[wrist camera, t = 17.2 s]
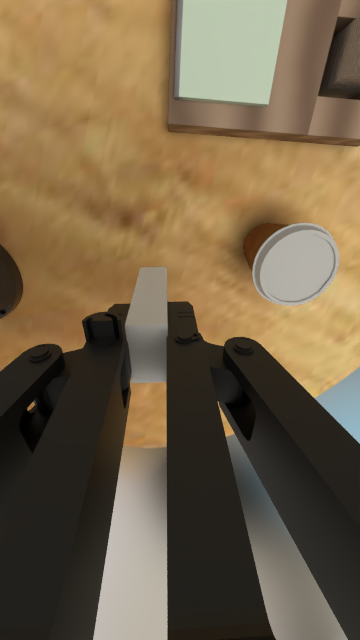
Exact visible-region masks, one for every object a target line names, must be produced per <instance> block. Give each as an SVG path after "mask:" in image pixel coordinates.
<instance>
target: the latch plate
mask: <svg viewBox="0 0 360 640" xmlns="http://www.w3.org/2000/svg"><path fill="white" fill-rule="evenodd" d="M286 5H287V0H177V25H176V51H175V78H174V98H175V99H179V100H191V101H202V102H213V103H224V104H236V105H247V106H258V107H266V106H267V105H269V99H270V93H271V88H272V82H273V77H274V71H275V66H276V60H277V55H278V49H279V44H280V38H281V33H282V27H283V22H284V16H285V11H286Z"/></svg>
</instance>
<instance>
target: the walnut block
mask: <svg viewBox="0 0 360 640" xmlns="http://www.w3.org/2000/svg"><path fill="white" fill-rule="evenodd" d="M359 15H360V0H287V5H286V11H285V16H284V22H283V27H282V33H281V38H280V44H279V49H278V55H277V60H276V66H275V71H274V77H273V82H272V88H271V93H270V99H269V105H267V106H266V107H258V106H247V105H236V104H224V103H213V102H202V101H191V100H179V99H175V98H174V78H175V51H176V25H177V0H172V9H171V43H170V76H169V109H168V128H169V132H180V133H193V134H206V135H218V136H231V137H243V138H256V139H268V140H281V141H294V142H306V143H319V144H331V145H344V146H360V93H359V94H357V95H355V96H353V97H351V98H349V99H341V98H330V97H319V96H318V93H319V89H320V85H321V81H322V77H323V73H324V69H325V65H326V61H327V57H328V53H329V49H330V45H331V41H332V39H333V38H334V37H335V36H337V35H338V34H339V33H340V32H341V31H342V30H343V29H344V28H346V27H347V26H348V25H349V24H350V23H351V22H352V21H353V20H355V19H356V18H357V17H358V16H359Z"/></svg>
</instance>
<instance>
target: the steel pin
mask: <svg viewBox="0 0 360 640" xmlns="http://www.w3.org/2000/svg"><path fill="white" fill-rule="evenodd" d="M359 93H360V15H359V16H358V17H357V18H356V19H355V20H353V21H352V22H351V23H350V24H349V25H348V26H347V27H346V28H344V29H343V30H342V31H341V32H340V33H339V34H338V35H337V36H335V37H334V38H333V39H332V41H331V45H330V49H329V53H328V57H327V61H326V65H325V69H324V73H323V77H322V81H321V85H320V89H319V93H318V96H319V97H330V98H341V99H349V98H351V97H353V96H355V95H357V94H359Z"/></svg>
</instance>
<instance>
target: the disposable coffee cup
mask: <svg viewBox="0 0 360 640" xmlns="http://www.w3.org/2000/svg"><path fill="white" fill-rule="evenodd" d="M244 254H245V256H246V259H247V261H248V263H249V266H250V268H251V270H252V278H253V282H254V285H255V287H256V289H257V291H258V292H259V294H260V295H261V296H262V297H263V298H265V299H266V300H268V301H270V302H273V303H276V304H281V305H291V306H292V305H300V304H303V303H306V302H308V301H311V300H313V299H314V298H316V297H317V296H319V295H320V294H321V293H322V292H324V291H325V290H326V289H327V288H328V286H329V285H330V284H331V282H332V281H333V279H334V277H335V275H336V273H337V270H338V265H339V252H338V248H337V246H336V243H335V241H334V239H333V237H332V236H331V234H330V233H329V232H328V231H327V230H326V229H324V228H322V227H321V226H319V225H315V224H312V223H297V224H292V225H279V224H263V225H260V226H258V227H256V228H254V229H253V230H252V231H251V232H250V233H249V234H248V236H247V238H246V240H245V243H244Z"/></svg>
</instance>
